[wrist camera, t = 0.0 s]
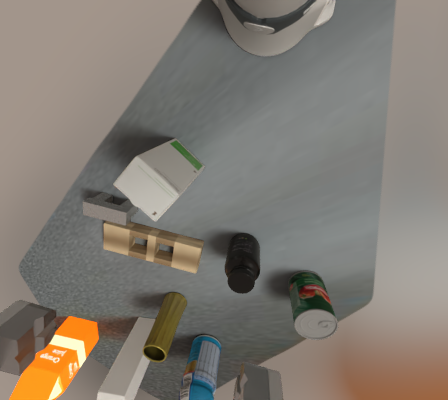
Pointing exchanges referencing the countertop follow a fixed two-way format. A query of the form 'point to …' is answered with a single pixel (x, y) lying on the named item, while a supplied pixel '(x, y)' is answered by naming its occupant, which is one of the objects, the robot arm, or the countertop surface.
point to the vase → (164, 327)
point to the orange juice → (57, 361)
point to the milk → (128, 365)
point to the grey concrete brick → (109, 209)
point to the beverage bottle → (201, 369)
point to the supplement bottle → (242, 263)
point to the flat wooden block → (153, 245)
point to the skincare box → (159, 177)
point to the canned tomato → (311, 306)
